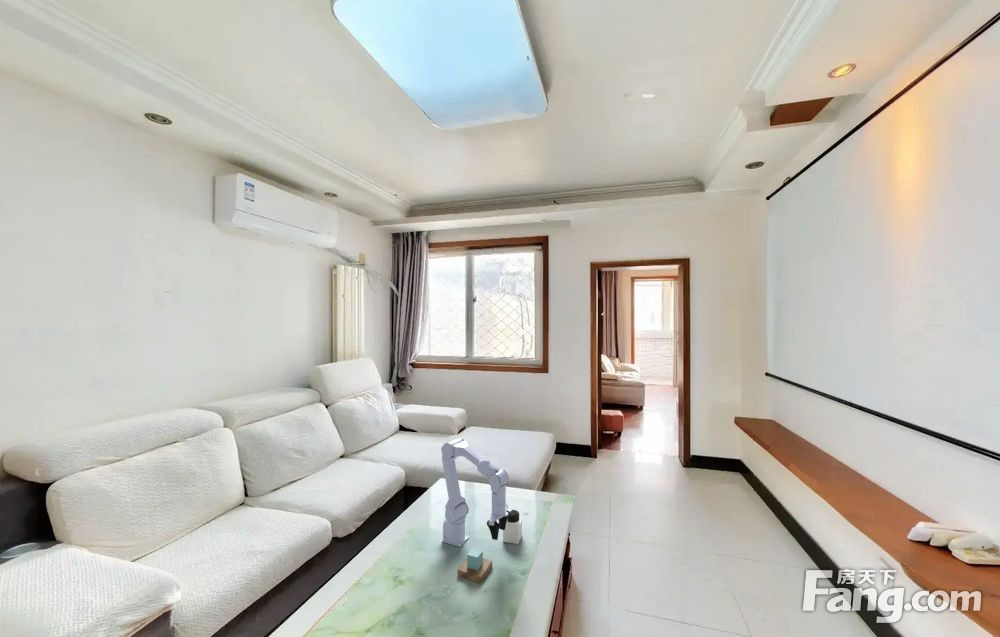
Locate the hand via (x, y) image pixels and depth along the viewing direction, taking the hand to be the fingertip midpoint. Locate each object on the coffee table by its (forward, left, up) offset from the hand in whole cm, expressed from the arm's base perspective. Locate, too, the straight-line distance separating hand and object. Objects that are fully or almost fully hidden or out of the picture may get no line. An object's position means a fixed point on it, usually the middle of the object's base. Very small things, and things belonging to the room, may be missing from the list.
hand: (498, 534), depth 156 cm
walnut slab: (-5, -11, -10) cm, 16 cm away
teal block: (-5, -11, -8) cm, 14 cm away
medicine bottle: (0, +15, -10) cm, 18 cm away
